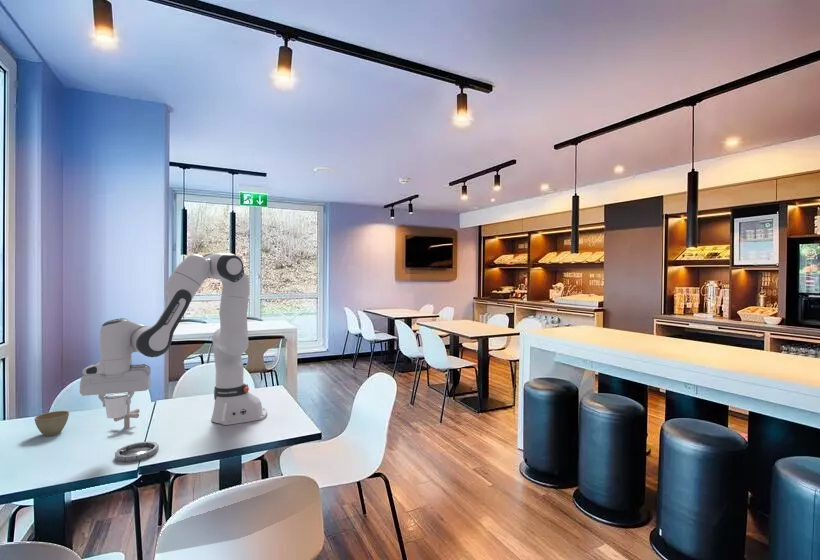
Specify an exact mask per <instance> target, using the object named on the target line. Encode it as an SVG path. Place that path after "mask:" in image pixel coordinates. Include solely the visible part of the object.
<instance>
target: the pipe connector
mask: <svg viewBox="0 0 820 560" xmlns="http://www.w3.org/2000/svg"><path fill="white" fill-rule="evenodd" d="M130 406H131V404H129V405H128V406H127V414H126V415H125V416H122V417H118V418H113V422H119V421H121V420H123V419H124V420H123V421H124V423H123V428H125V429H128V428H130V426H131V419H130V418H132V419H137V418H140V417H139V416H140V414H139V413H140V409H139V408H135V409H132V410H130V409H131V408H130Z"/></svg>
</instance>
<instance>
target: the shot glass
mask: <svg viewBox="0 0 820 560" xmlns="http://www.w3.org/2000/svg"><path fill="white" fill-rule="evenodd" d="M128 397H129V395H128V392H124V393H111V394H107V395H105V396H104V399H105V406H106V407H105V411H106V413H105V414H106V418H107V419H114V418H118V417H122V416H125V415H126V414H127V406H128V405H126V400H127V399H128Z"/></svg>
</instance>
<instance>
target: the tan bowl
mask: <svg viewBox="0 0 820 560" xmlns="http://www.w3.org/2000/svg"><path fill="white" fill-rule="evenodd" d="M69 416H70V412H69V411H67V410H56V411H50V412H45V413H42V414H39V415H36V416H35V417H34V423H35V425H36V428H37V429H38V431H39V432H40V434H41V435H43V436H44V437H50V436H54V435H58V434H60V433H61V432H62V431H63V429H64V428H65V426H66V424H67V421H69Z"/></svg>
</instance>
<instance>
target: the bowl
mask: <svg viewBox="0 0 820 560" xmlns="http://www.w3.org/2000/svg"><path fill="white" fill-rule="evenodd" d="M159 447H160V446H159V444H158V443H157V442H156V441H140V442H135V443H131V444H126V445H124V446H122V447H121V448H119V449H117V450H116V452H114V459H115V461H116V462H117V463H118V462H119V463H134V462H139V461H142V460H146V459H149V458H151V457H153V456H154V455H156V454H157V453H158V452H159Z"/></svg>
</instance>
